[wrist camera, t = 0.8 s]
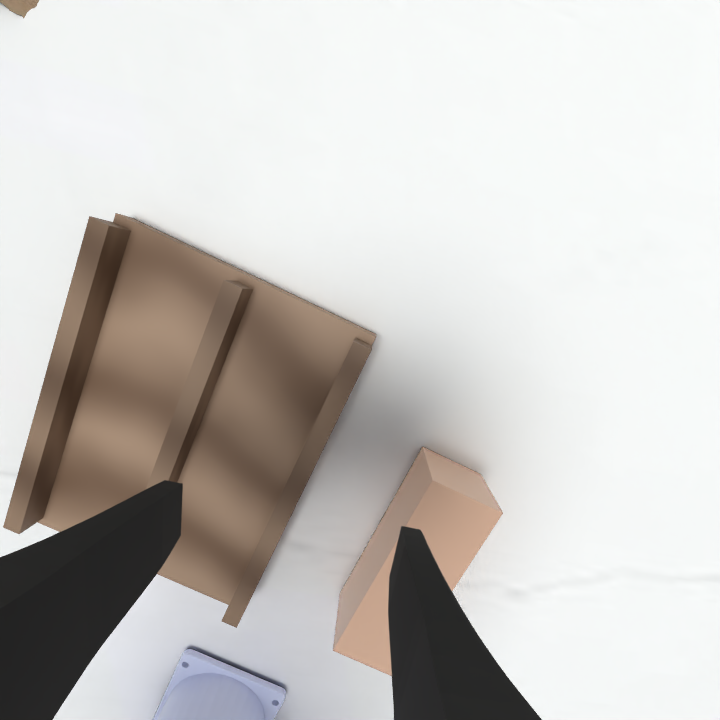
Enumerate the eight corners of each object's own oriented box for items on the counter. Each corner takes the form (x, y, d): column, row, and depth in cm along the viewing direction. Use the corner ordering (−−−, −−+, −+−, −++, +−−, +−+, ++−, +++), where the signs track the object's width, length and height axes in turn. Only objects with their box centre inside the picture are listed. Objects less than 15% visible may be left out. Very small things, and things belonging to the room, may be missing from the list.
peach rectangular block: (392, 613, 24) (395, 677, 20) (340, 590, 23) (332, 650, 20) (479, 471, 21) (503, 513, 17) (422, 444, 21) (432, 480, 17)
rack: (249, 595, 24) (233, 633, 21) (44, 505, 23) (1, 534, 20) (376, 334, 20) (375, 340, 17) (132, 217, 19) (92, 206, 16)
